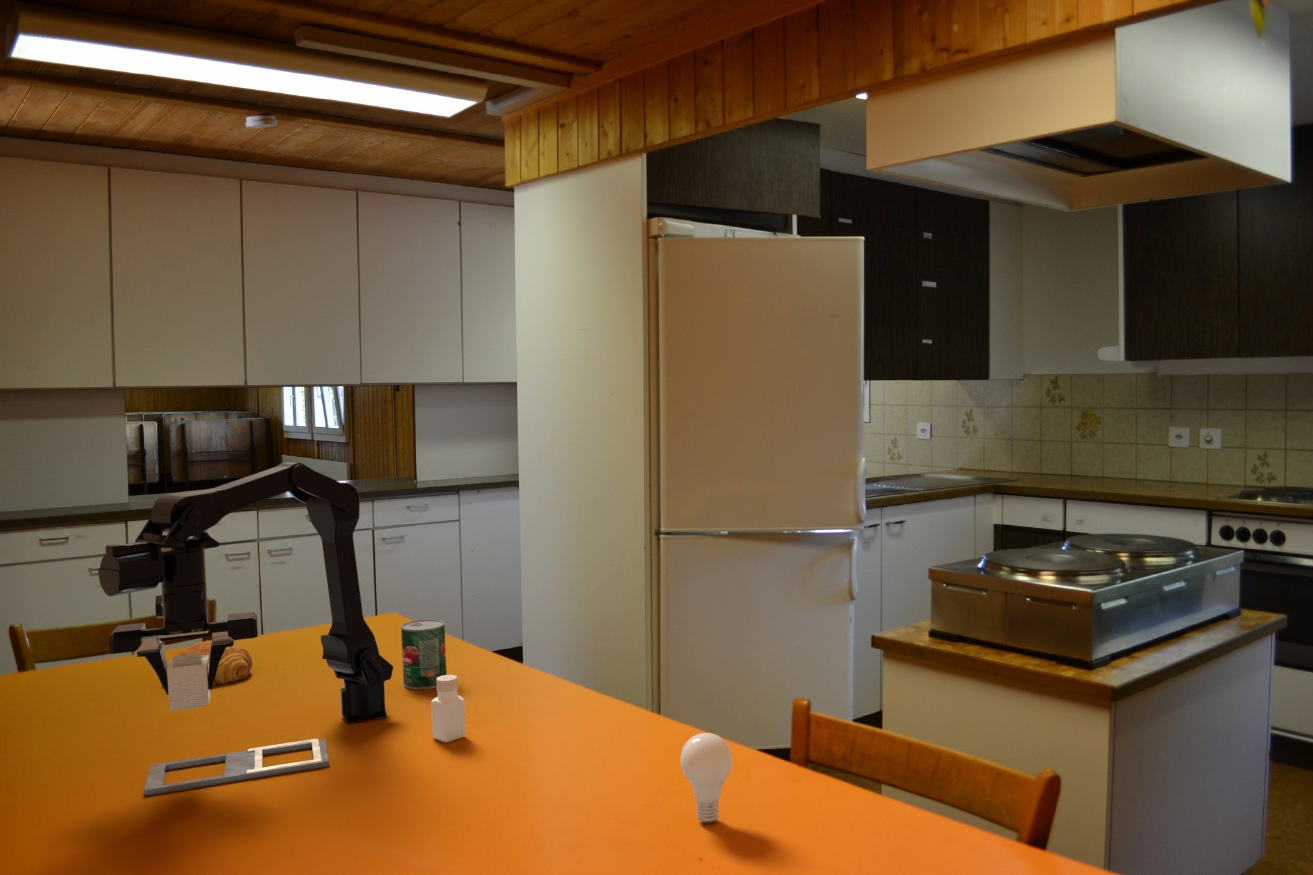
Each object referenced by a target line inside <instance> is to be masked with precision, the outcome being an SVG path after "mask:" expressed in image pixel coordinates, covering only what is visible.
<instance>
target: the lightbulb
mask: <svg viewBox="0 0 1313 875" xmlns="http://www.w3.org/2000/svg"><path fill="white" fill-rule="evenodd" d="M679 760H680V766H681V770H682V773H683V774H684V776H685V778H686V779H687V781H688V782H689V784H690V785H691V786H692V791H693V795H694V797H695V799H696V818H697V820H698V821H700V822H702V823H704V824H712V823H714V822H715V821H717V820H718V819H719V812H720V811H719V810H720V809H719V808H720V807H719V798H720V796H721V794H722V792H721V791H722V787H723V785H724V782H725V781H726V780H727V778H728V776H729V775H730V773H731V770H732V767H733V755H732V751H731V749H730V746H729V744H728V743H727V742H726V741H725V740H724V739H723V738H722V737H721V736H719V735H718V734H715V733H712V732H702V733H696V734H695V735H693V736H691V737H690V738H688V740H687V741H686V742H685V743H684V745H683V747H682V750H681V753H680V759H679Z"/></svg>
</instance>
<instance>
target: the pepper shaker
mask: <svg viewBox="0 0 1313 875" xmlns="http://www.w3.org/2000/svg"><path fill="white" fill-rule="evenodd" d="M458 681H459V680H458V676H457V675H455V674H447V675H443V676H440V677H437V679H436V685H437V687H436V691H437V696H436V697H435V698H433V699H432V700H431V702H430V704H431V705H430V707H431V708H430V709H431V710H430V711H431V730H432V731H431V733H432V734H431V735H432V737H433V739H435V740H438V741H441V742H444V743H450V742H452V741H455V740H458V739H462V738H465V736H466V734H467V732H466V731H467V730H466V708H465V707H466V706H465V705H466V704H465V703H466V702H465V699H464V697H462V696H461V695H458V689H459V683H458Z"/></svg>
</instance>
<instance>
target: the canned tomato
mask: <svg viewBox="0 0 1313 875" xmlns="http://www.w3.org/2000/svg"><path fill="white" fill-rule="evenodd" d="M445 623H446V622H444V621H443V620H440V619H418V620H412V621H407V622H404V623H403V624H401V625H400V630H401V633H400V634H401V651H402V653H401V654H402V655H401V656H402V672H403V674H402V677H403V687H405V688H407V689H408V690H409V689H410V690H431V689H437V685H436V679H437V677H440V676H443V675H448V674H447V656H446V655H447V653H446V632H445V631H446V630H445V629H446V628H445V626H446V624H445Z"/></svg>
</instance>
